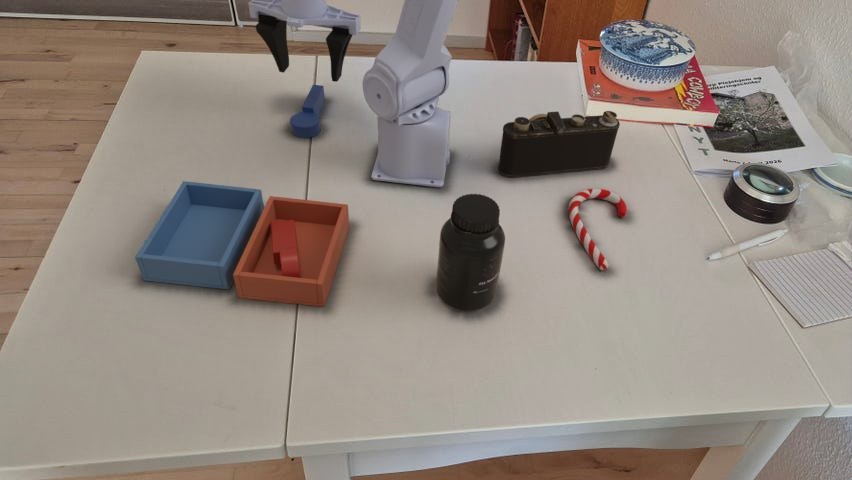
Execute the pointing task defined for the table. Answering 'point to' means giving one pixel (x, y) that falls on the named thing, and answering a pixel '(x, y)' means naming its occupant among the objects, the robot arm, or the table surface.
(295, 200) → the red bin
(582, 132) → the camera
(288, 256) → the red spoon
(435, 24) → the robot arm
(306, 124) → the blue spoon
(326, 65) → the table surface
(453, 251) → the supplement bottle
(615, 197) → the candy cane
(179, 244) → the blue bin
